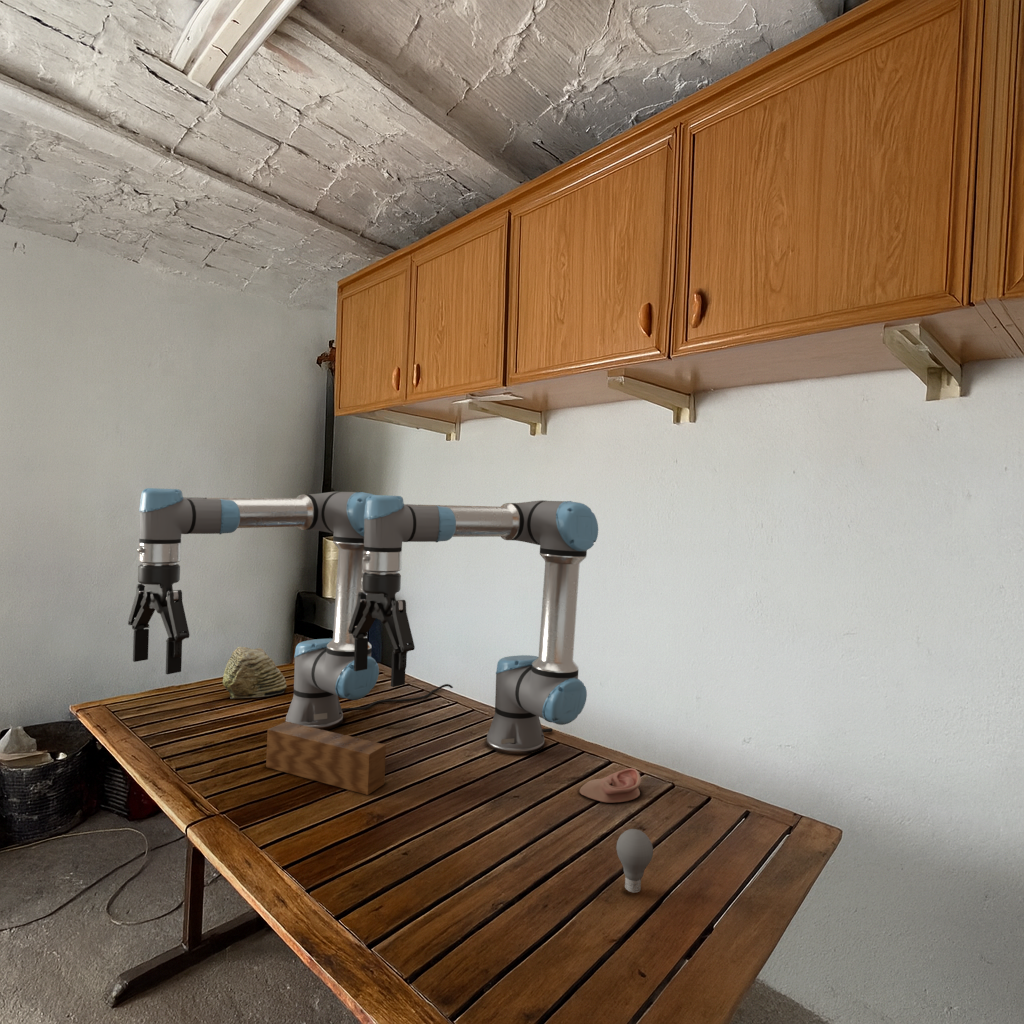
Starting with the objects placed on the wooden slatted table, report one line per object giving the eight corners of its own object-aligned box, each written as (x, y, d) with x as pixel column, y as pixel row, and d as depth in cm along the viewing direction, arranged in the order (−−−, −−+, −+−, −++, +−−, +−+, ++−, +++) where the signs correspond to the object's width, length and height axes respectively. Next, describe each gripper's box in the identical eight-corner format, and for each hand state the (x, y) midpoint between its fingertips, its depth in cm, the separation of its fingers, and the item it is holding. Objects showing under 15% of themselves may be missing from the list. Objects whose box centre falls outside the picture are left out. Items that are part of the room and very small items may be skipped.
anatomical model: (578, 780, 137) (583, 760, 149) (577, 799, 137) (582, 776, 149) (641, 789, 135) (641, 767, 146) (640, 807, 135) (640, 784, 146)
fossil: (218, 695, 195) (220, 647, 195) (278, 685, 208) (279, 640, 207) (228, 703, 189) (230, 653, 188) (289, 692, 201) (290, 645, 201)
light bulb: (610, 879, 108) (613, 822, 108) (644, 879, 109) (647, 822, 109) (619, 902, 102) (622, 840, 102) (655, 901, 103) (658, 840, 103)
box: (265, 767, 147) (267, 729, 147) (285, 757, 153) (286, 721, 152) (367, 795, 135) (369, 754, 135) (384, 783, 141) (386, 744, 141)
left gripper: (111, 559, 134) (108, 658, 134) (172, 570, 120) (168, 682, 120) (148, 557, 140) (145, 652, 140) (210, 568, 126) (207, 674, 126)
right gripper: (333, 566, 133) (330, 666, 133) (402, 580, 115) (398, 696, 116) (365, 564, 138) (361, 661, 139) (435, 578, 120) (431, 688, 121)
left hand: (156, 666), depth 130 cm, fingers open, 13 cm apart
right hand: (378, 677), depth 127 cm, fingers open, 13 cm apart
